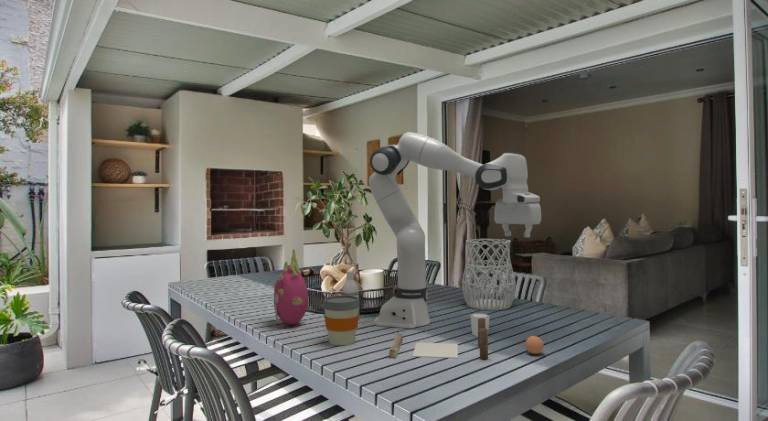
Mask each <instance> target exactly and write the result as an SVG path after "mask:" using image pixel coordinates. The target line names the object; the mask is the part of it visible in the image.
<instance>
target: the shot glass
mask: <svg viewBox="0 0 768 421" xmlns="http://www.w3.org/2000/svg"><path fill="white" fill-rule="evenodd" d="M469 317H470V322H471V323H470V324H471V334H472V336H475V337H478V319H479V318H484V319H485V320H486V329H488V330H490V329H489V326H490V315H489V314H486V313H481V312H479V313H478V312H477V313H472V314H470V316H469Z"/></svg>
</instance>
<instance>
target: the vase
mask: <svg viewBox="0 0 768 421" xmlns="http://www.w3.org/2000/svg"><path fill="white" fill-rule="evenodd" d="M465 243H466V244H465V245H466V260H465V266H464V270H463V273H462V274H463V275H462V279H461V291H462V295H463V299H464V302H465V304H466V306H467V307H469V308H472V309H476V310H481V311H501V310H508V309H510V308H511V307H512V304H513V303H514V299H515V297H516V291H517V290H516V289H517V284H516V277H515V274H514V270H513V265H512V261H511V254H510V253H511V240H510V239H504V238H502V239H501V238H500V239H499V238H475V239H473V238H472V239H467V240H465ZM475 245H476V247H474V246H475ZM484 245H486V246H487V248H486V249H485V248H484V247H483V246H484ZM496 245H497V246H498V247H497V248H495V247H494V246H496ZM504 246H505V247H504ZM480 249H481V250H482V251H483V252H481V254H479V253H478V252H479V251H480ZM491 249H492V251H493V253H492V255H490V253H489V250H491ZM500 250H501V251H502V254H500V252H499V251H500ZM472 251H473V252H472ZM485 257H487V259H486V260H485ZM496 257H497V259H498V260H495V258H496ZM475 259H477V260H475ZM479 271H480V273H481V275H480V276H478V273H479ZM491 271H492V272H493V275H494V276H490V274H491ZM469 273H470V275H469ZM503 273H504V275H505V276H504V277H503ZM485 280H486V285H485Z"/></svg>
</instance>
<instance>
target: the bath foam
mask: <svg viewBox="0 0 768 421" xmlns="http://www.w3.org/2000/svg"><path fill="white" fill-rule="evenodd" d="M354 273H355V272H354V270H346V280H345V282H344V283H343V286H342V289H341V296H343V295H345V296H355V297H358V298H359V299H360V290H359V286H358V284H357V282H356V281H355V280H354V278H355V276H354ZM358 314H359V315H360V307H359V308H358ZM359 319H360V317H359V318H358V320H359Z"/></svg>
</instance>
